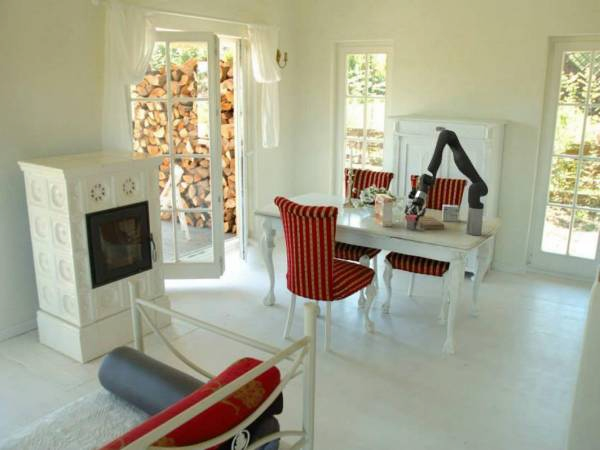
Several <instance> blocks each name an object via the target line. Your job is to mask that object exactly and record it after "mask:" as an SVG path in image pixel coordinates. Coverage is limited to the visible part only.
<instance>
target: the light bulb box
mask: <svg viewBox="0 0 600 450" xmlns="http://www.w3.org/2000/svg"><path fill="white" fill-rule="evenodd" d="M459 209H460V207H459V205H457V204H442V210H441V221H442V222H454V223H455V222H456V223H457V222H459Z"/></svg>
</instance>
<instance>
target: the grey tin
mask: <svg viewBox="0 0 600 450" xmlns="http://www.w3.org/2000/svg"><path fill="white" fill-rule="evenodd" d="M417 227H418V225H417V221H415V222H413V221H407V220H406V229H407V230H409V231H410V230H411V231H416V230H417Z"/></svg>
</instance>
